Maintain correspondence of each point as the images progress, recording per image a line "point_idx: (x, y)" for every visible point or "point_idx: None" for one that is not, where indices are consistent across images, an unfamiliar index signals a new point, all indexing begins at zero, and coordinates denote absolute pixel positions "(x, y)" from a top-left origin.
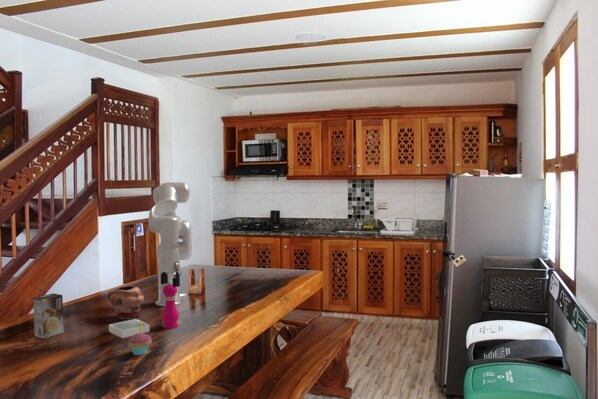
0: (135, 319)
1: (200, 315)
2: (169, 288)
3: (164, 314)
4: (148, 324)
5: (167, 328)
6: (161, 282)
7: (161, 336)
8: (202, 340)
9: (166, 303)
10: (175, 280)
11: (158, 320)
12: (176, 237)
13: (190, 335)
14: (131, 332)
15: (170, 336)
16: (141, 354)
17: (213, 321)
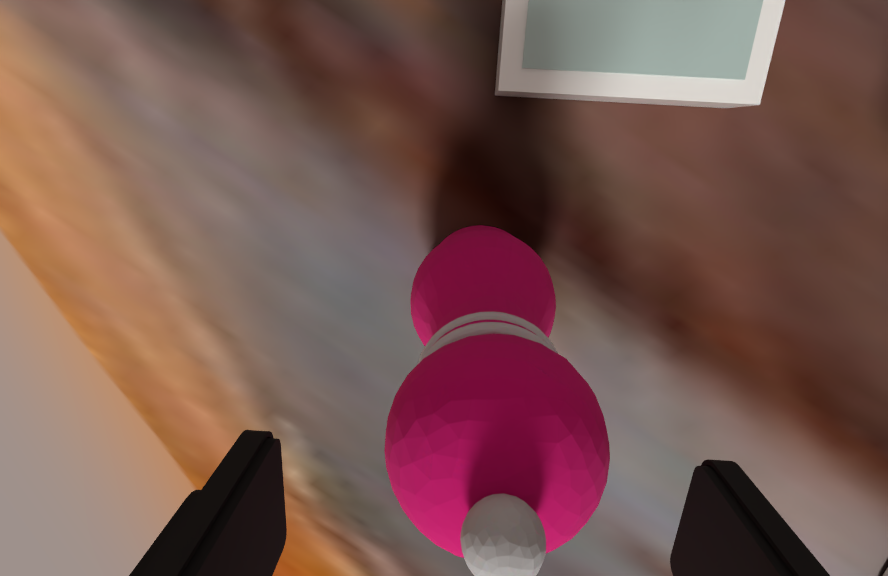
0: (746, 92)
1: None
2: (415, 419)
3: (476, 246)
4: (510, 89)
5: (452, 233)
6: (725, 483)
7: (325, 95)
8: (66, 240)
9: (485, 307)
10: (138, 568)
11: (687, 308)
12: None
13: (208, 251)
14: None
15: (279, 143)
16: None
17: (369, 508)
